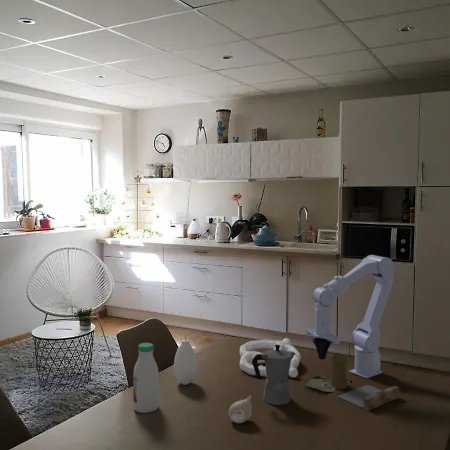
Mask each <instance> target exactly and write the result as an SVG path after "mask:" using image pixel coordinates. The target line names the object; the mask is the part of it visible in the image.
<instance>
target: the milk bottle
mask: <svg viewBox="0 0 450 450" xmlns="http://www.w3.org/2000/svg"><path fill="white" fill-rule="evenodd" d="M137 347H138V351H137V352H138V357H137V360H136V363H135V366H134V367H133V378H132V379H133V380H132V381H133V385H132V387H133V392H132V393H133V397H132V398H133V399H132V401H133V410H135V412H137V413H141V414H149V413H152V412H155V411H156V410H157V409H159V405H160V403H159V402H160V401H159V399H160V398H159V397H160V394H159V393H160V391H159V390H160V389H159V388H160V387H159V385H160V384H159V382H160V381H159V377H160V375H159V367H158V364H157V362H156V360H155V357H154V354H153V353H154V344H153V343H151V342H141V343H139V344H138V346H137Z"/></svg>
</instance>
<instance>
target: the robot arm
mask: <svg viewBox="0 0 450 450" xmlns="http://www.w3.org/2000/svg"><path fill="white" fill-rule="evenodd" d="M395 269H396V266H395V264H394V262H393V260H392V259H391V258H390V257H385V256H380V255H375V254H370V255H367V256H366V257H364V258H363V259H362V260H361V262H360V263H358V264H357V265H356V266H355V267H353V268H352V269H351V270H350V271H348V272H347V273H346V274H345V275H343V276H342V275H335V276H334V277H333V279H332V280H331V281H329V282H327V283H324V284H323V287H322V286H319V287H317V288H315V289H314V291H313V293H312V294H311V298H312V300H313V302H314V329H312V328H306V329H305V335H307V336H312V337H313V339H312V342H313V344H314V346H315V349H316V352H317V355H318V359H319V360H321V361H322V360H326V358H327V353H328V352H329V348H330V346H331V345H332V343H334V345H339V344H341V337H339V336H337V335H335V334H333V333H332V305H333V304H334V303H335V301H336V299H337V298H338V297H339V296H340V295H342V294H343V293H344V292H346V291H347V290H348V289H350V284H352V283H354V282H356V281H357V280H358V279H360V278H362V277H363V276H365V275H367V274H371V275H372V276H373V278H374V280H375V282H376V283H375V286H374V289H373V291H372V295H371V298H370V301H369V303H368V306H367V309H366V311H365V315H364V317H363V320H362V322H360V323H358V324H357V326H356V328H355V329H354V330H353V332H352V333H351V342H352V344H354V346H353V347H354V368H353V369H350V370H349V373H352V374H354V375H357V376H358V377H359V376H360V377H362V378H365V379H369V378H372V377H375V376H378V375H380V374H383V371H382V370H381V353H380V351H379V347H380V343H381V342H380V340H381V335H382V334H381V331H380V329H379V325H380V321H381V318H382V317H383V316H382V315H383V312H384V310H385V307H386V304H387V300H388V298H389V296H390V292H391V289H392V287H393V284H394V272H395Z"/></svg>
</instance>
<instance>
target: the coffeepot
mask: <svg viewBox="0 0 450 450" xmlns="http://www.w3.org/2000/svg"><path fill="white" fill-rule="evenodd" d="M275 348H276V350H273V349H271V348H270V349H267V350H265V351H263V352H262V353H263V354H257V355H256V356H255V357H254V358H253V360H252V364H251V365H253V367H254V370H255V373H256V375H255V376H256V379H257V380H263V379H264V378H265V376H260V370H259V368H258V366H259V363H257V361H258V360H265V363H264V365H265V366H264V367H266V374H267V377H266V378H265V379H266V380H265V383H264V390H263V401H264V402H265V403H267V404H270V405H272V406H284V405H287V404H289V403H290V402H291V395H290V387H289V380H288V379H289V369H290V363H291V360H292V358H293V357H294V355H295V354H296V353H294V352H292V351H285V350H279V348H280V345H275Z"/></svg>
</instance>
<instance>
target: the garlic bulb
mask: <svg viewBox="0 0 450 450" xmlns="http://www.w3.org/2000/svg"><path fill="white" fill-rule="evenodd" d="M251 398H252V395H251V394H250V395H248V396H247V397H245V398H244V399H240V400H238V401H235V402H234V403H232V404H231V405H230V407H229V409H228V412H227V413H228V416H229V418H230V420H231V421H233V422H234V423H236V424H242V423H245V422H247V421H249V420H250V419H251V418H252V417H251V416H252V413H253V404H252V402H251Z"/></svg>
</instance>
